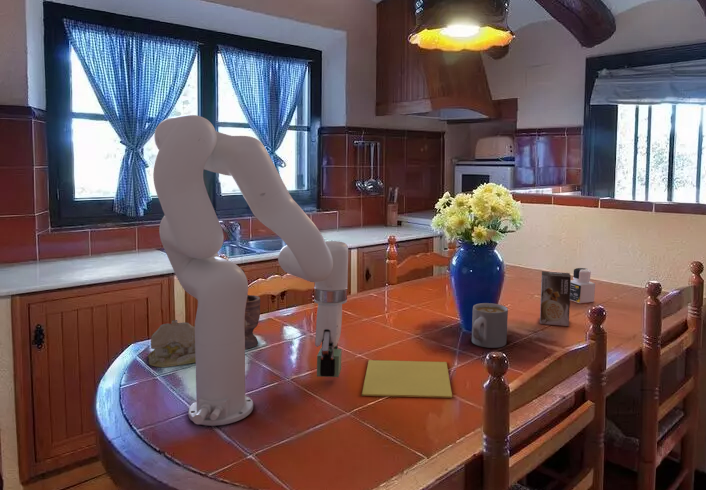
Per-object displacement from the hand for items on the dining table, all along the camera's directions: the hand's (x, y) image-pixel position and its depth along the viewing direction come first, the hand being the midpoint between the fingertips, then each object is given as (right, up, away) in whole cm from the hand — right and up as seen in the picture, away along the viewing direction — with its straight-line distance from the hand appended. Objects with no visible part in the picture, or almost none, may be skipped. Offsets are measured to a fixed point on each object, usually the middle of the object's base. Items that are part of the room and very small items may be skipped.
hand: (329, 370), depth 130 cm
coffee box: (+65, +2, +49) cm, 82 cm away
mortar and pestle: (-28, +1, +23) cm, 36 cm away
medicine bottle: (+82, +4, +77) cm, 113 cm away
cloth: (+18, -3, +3) cm, 19 cm away
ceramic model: (-41, 0, +12) cm, 42 cm away
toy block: (0, -1, 0) cm, 1 cm away
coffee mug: (+40, 0, +28) cm, 49 cm away
